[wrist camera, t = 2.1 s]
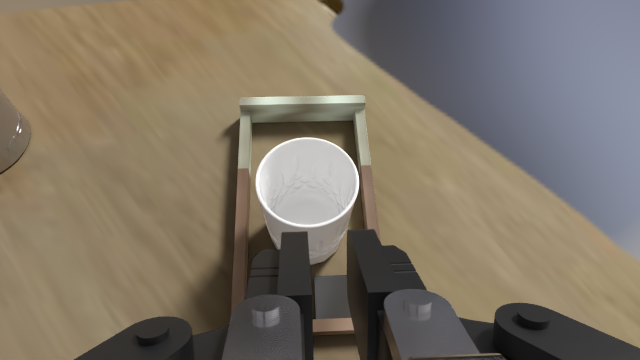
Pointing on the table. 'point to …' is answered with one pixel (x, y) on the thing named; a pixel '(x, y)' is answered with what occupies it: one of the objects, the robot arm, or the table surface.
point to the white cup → (308, 193)
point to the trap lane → (253, 109)
